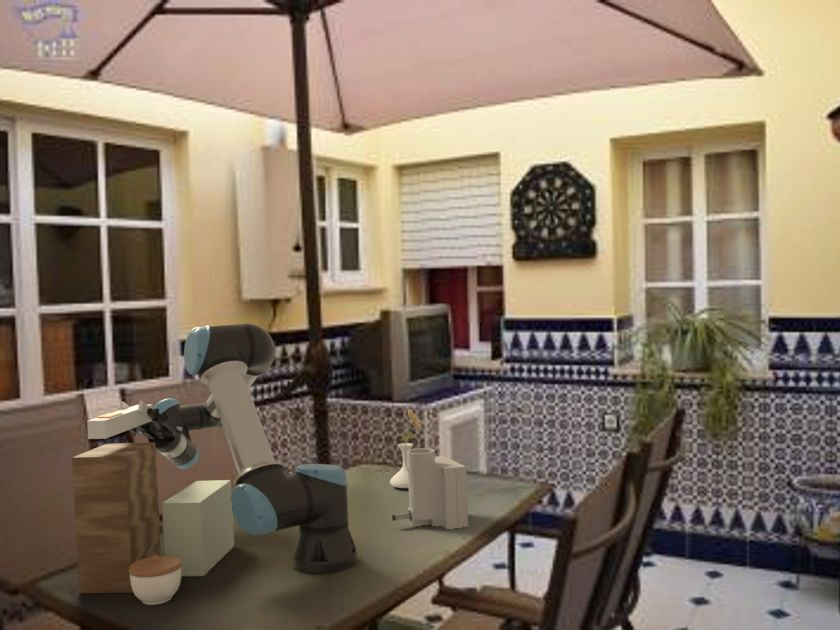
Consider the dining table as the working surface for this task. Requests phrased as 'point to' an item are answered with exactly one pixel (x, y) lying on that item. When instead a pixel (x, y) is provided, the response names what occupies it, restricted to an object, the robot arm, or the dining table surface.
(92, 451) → the walnut stand
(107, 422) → the white bar
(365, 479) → the dining table surface
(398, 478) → the flower in vase
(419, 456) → the white tube and box
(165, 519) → the upright ivory cuboid
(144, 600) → the lidded jar
